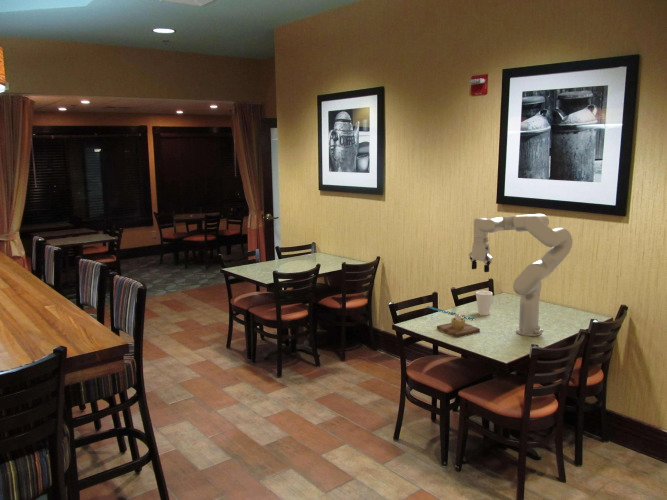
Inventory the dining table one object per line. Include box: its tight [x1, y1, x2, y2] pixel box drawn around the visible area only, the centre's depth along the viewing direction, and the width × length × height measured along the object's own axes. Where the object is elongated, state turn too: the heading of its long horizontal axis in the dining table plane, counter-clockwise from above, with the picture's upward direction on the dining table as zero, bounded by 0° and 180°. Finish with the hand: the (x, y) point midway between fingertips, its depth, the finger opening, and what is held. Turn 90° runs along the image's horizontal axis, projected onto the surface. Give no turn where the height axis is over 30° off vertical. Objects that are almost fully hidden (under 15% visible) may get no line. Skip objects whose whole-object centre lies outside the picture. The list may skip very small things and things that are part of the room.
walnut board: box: [436, 322, 481, 338], centre depth 291 cm, size 16×16×2 cm
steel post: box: [454, 313, 462, 321], centre depth 290 cm, size 3×3×7 cm
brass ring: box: [450, 317, 466, 329], centre depth 290 cm, size 7×7×4 cm
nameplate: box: [425, 305, 475, 321], centre depth 323 cm, size 37×1×5 cm
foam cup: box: [475, 290, 494, 316], centre depth 318 cm, size 10×9×13 cm
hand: (480, 270), depth 300 cm, fingers open, 9 cm apart
